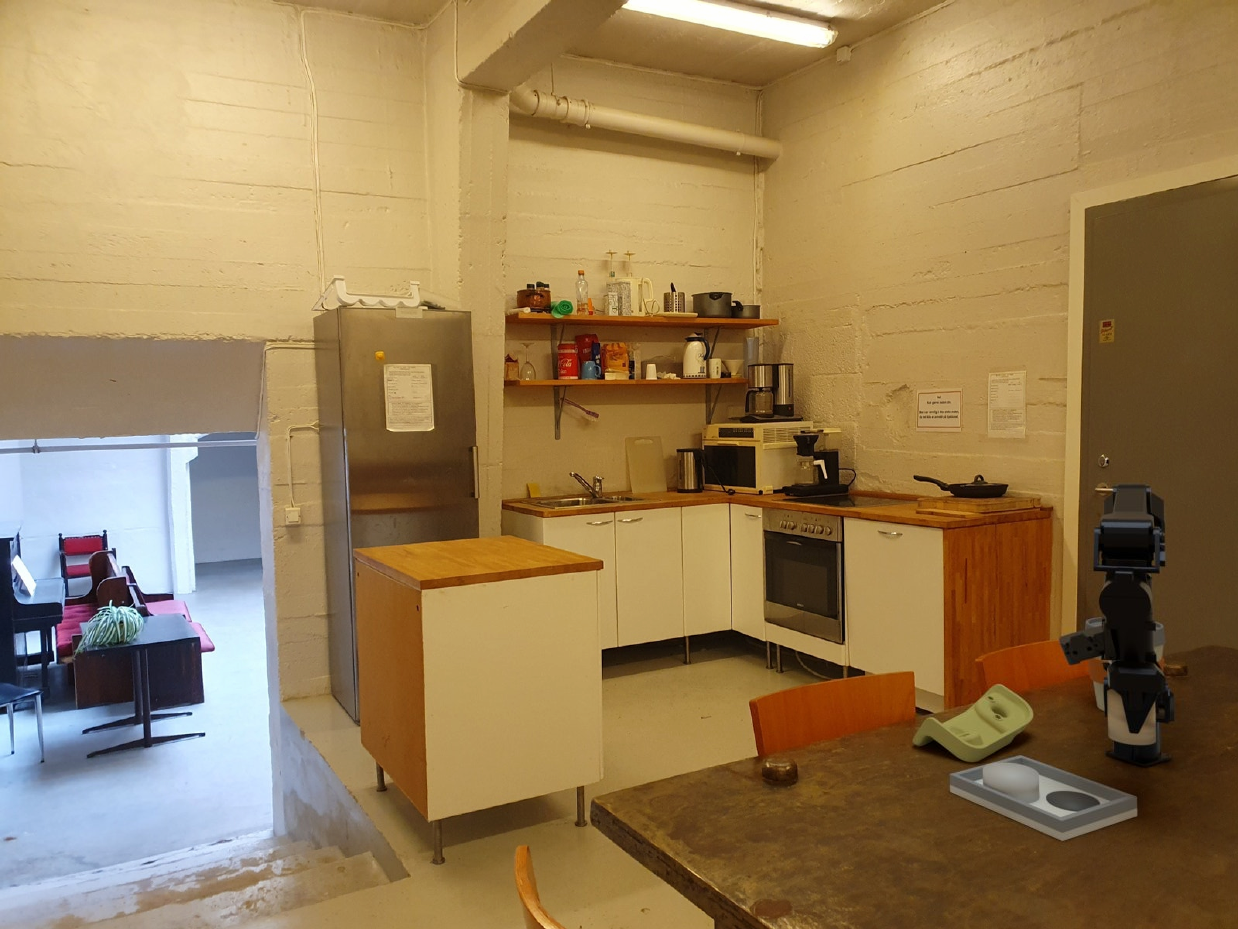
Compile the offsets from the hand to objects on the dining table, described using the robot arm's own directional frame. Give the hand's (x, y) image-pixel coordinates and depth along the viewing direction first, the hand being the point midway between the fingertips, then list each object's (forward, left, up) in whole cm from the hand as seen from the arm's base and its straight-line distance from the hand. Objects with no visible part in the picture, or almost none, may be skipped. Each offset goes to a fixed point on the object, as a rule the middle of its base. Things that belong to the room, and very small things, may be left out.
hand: (1131, 726), depth 123 cm
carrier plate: (+12, -5, -10) cm, 16 cm away
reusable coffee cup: (-34, -25, -10) cm, 43 cm away
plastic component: (0, -26, -10) cm, 28 cm away
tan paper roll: (0, 0, -2) cm, 2 cm away
